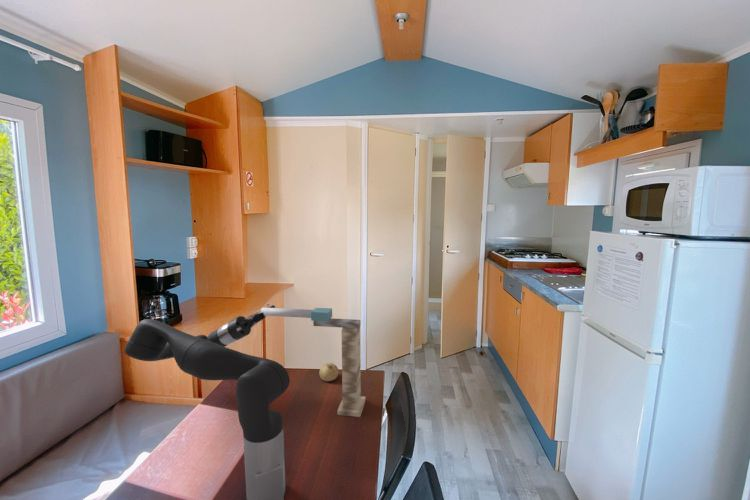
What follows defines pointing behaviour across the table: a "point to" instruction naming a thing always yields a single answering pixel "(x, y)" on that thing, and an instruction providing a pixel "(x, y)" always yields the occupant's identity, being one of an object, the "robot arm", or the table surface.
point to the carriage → (300, 313)
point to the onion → (328, 372)
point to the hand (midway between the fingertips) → (269, 311)
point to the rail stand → (349, 365)
